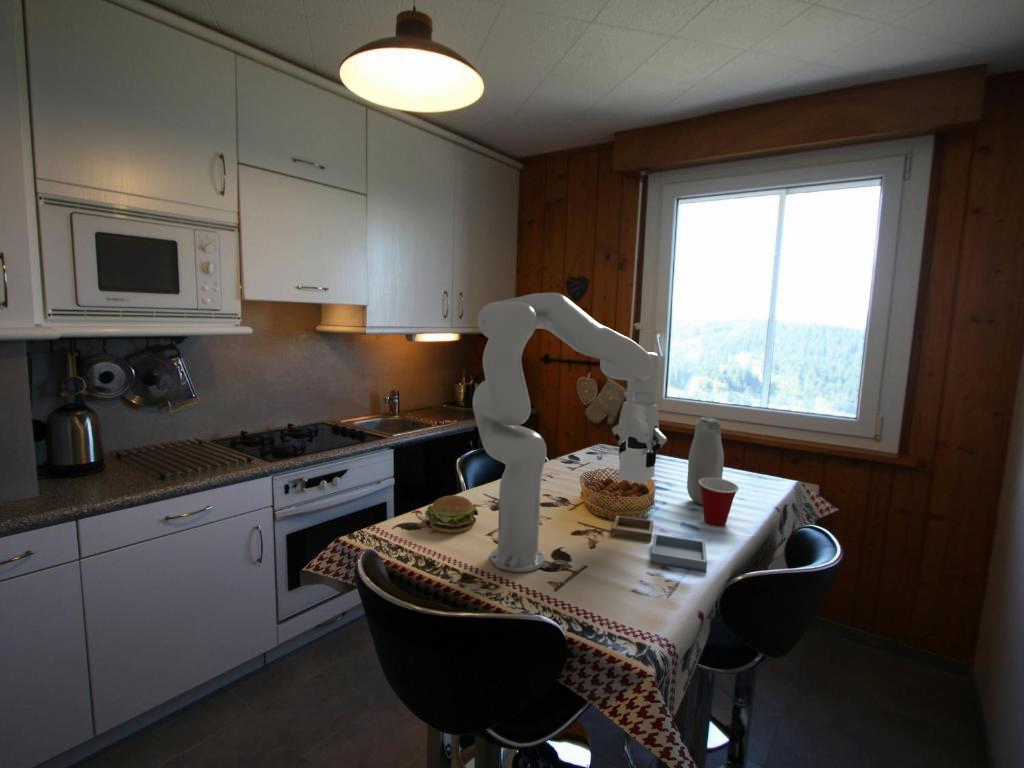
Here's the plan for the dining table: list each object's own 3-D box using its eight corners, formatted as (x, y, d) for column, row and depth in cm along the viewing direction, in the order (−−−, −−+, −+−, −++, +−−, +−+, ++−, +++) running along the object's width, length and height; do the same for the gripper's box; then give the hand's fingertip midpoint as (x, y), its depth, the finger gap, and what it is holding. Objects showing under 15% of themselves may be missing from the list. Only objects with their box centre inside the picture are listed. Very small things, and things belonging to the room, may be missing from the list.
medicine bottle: (654, 476, 143) (655, 433, 141) (644, 483, 137) (644, 438, 135) (630, 471, 147) (630, 430, 145) (618, 478, 141) (619, 435, 140)
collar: (650, 541, 137) (651, 534, 137) (611, 535, 140) (611, 528, 140) (653, 527, 147) (653, 520, 147) (616, 522, 150) (616, 515, 150)
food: (414, 525, 143) (414, 497, 142) (455, 513, 153) (455, 486, 152) (446, 541, 133) (446, 511, 132) (487, 527, 143) (487, 499, 142)
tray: (706, 572, 121) (707, 562, 121) (650, 563, 125) (651, 553, 124) (704, 550, 133) (705, 541, 132) (653, 543, 136) (654, 533, 136)
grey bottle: (726, 507, 166) (733, 419, 163) (700, 510, 163) (707, 421, 159) (704, 497, 176) (710, 414, 172) (679, 499, 172) (685, 415, 169)
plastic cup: (711, 531, 145) (714, 489, 144) (687, 517, 156) (691, 478, 154) (744, 528, 148) (747, 487, 147) (719, 515, 159) (722, 476, 157)
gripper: (606, 394, 143) (601, 457, 145) (662, 403, 130) (656, 472, 132) (622, 393, 148) (618, 454, 150) (678, 402, 136) (672, 468, 137)
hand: (636, 462), depth 141 cm, fingers closed on medicine bottle, 8 cm apart
